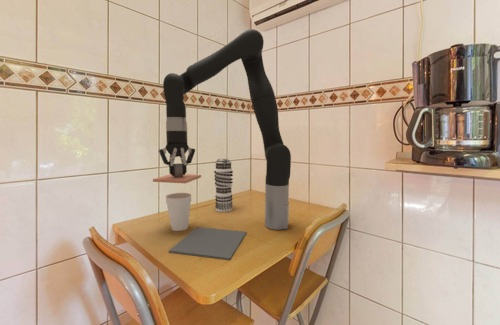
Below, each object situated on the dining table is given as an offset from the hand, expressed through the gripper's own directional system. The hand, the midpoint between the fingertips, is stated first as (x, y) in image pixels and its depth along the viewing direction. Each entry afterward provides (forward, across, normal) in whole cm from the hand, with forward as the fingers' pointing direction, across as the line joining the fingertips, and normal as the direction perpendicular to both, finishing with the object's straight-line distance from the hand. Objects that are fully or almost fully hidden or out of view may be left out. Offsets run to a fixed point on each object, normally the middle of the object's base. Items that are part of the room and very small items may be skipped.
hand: (178, 174), depth 92 cm
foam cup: (+21, 0, 0) cm, 21 cm away
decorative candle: (+21, -26, -13) cm, 36 cm away
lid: (+2, 0, 0) cm, 2 cm away
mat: (+21, -6, +18) cm, 29 cm away
